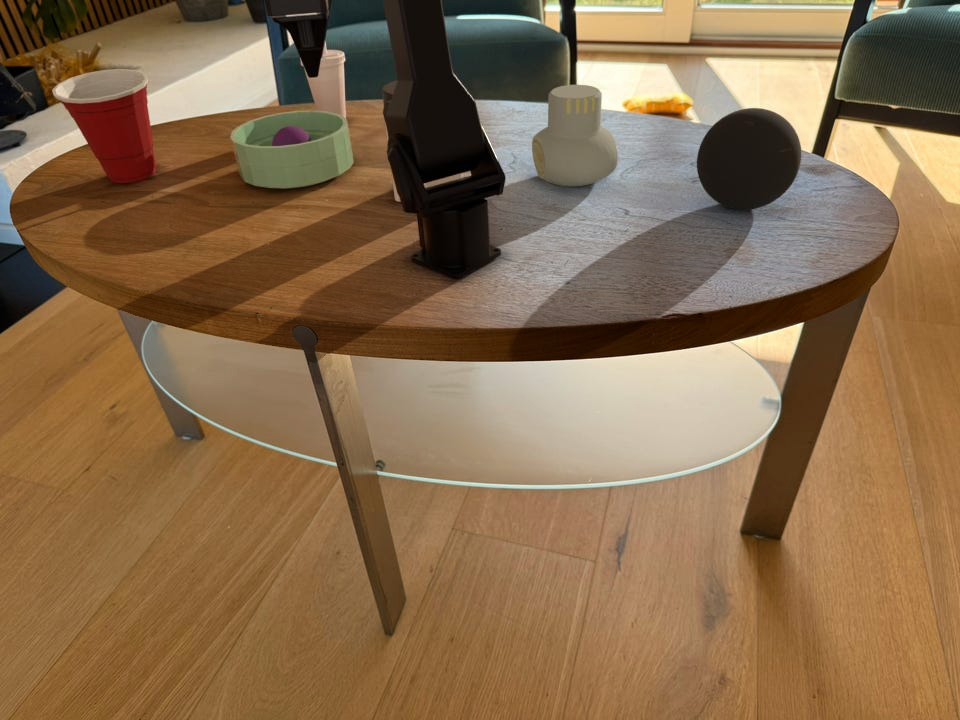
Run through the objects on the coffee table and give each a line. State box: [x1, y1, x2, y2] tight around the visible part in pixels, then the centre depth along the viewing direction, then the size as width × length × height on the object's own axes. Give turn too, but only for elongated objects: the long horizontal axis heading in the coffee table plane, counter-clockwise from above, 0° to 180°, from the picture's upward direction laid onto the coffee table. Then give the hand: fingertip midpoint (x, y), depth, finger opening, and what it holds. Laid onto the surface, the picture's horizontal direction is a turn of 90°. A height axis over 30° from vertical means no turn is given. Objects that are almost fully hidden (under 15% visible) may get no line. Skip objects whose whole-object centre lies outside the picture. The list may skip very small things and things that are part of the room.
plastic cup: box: [51, 68, 157, 184], centre depth 89 cm, size 11×11×12 cm
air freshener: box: [531, 84, 619, 188], centre depth 81 cm, size 11×8×10 cm
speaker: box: [696, 107, 802, 211], centre depth 73 cm, size 10×10×10 cm
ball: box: [272, 126, 312, 146], centre depth 89 cm, size 5×5×5 cm
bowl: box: [229, 110, 355, 189], centre depth 89 cm, size 14×14×6 cm
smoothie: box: [299, 40, 347, 119], centre depth 102 cm, size 6×6×14 cm
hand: (315, 67), depth 85 cm, fingers open, 9 cm apart
